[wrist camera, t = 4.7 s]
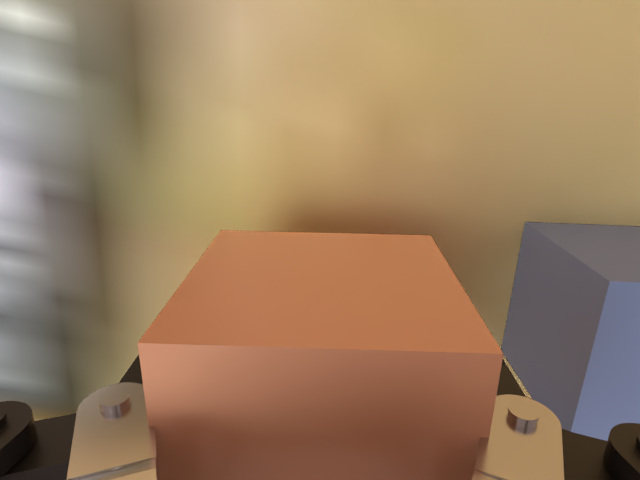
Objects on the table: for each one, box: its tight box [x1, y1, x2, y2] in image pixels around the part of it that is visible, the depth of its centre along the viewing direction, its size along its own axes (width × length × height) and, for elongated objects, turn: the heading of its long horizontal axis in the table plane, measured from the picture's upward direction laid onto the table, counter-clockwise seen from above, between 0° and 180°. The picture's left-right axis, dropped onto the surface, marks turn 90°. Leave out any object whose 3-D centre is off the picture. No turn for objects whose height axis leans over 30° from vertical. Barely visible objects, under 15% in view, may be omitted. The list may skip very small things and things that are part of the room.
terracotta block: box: [138, 230, 503, 480], centre depth 10 cm, size 6×6×6 cm
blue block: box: [501, 222, 640, 441], centre depth 16 cm, size 6×6×6 cm
